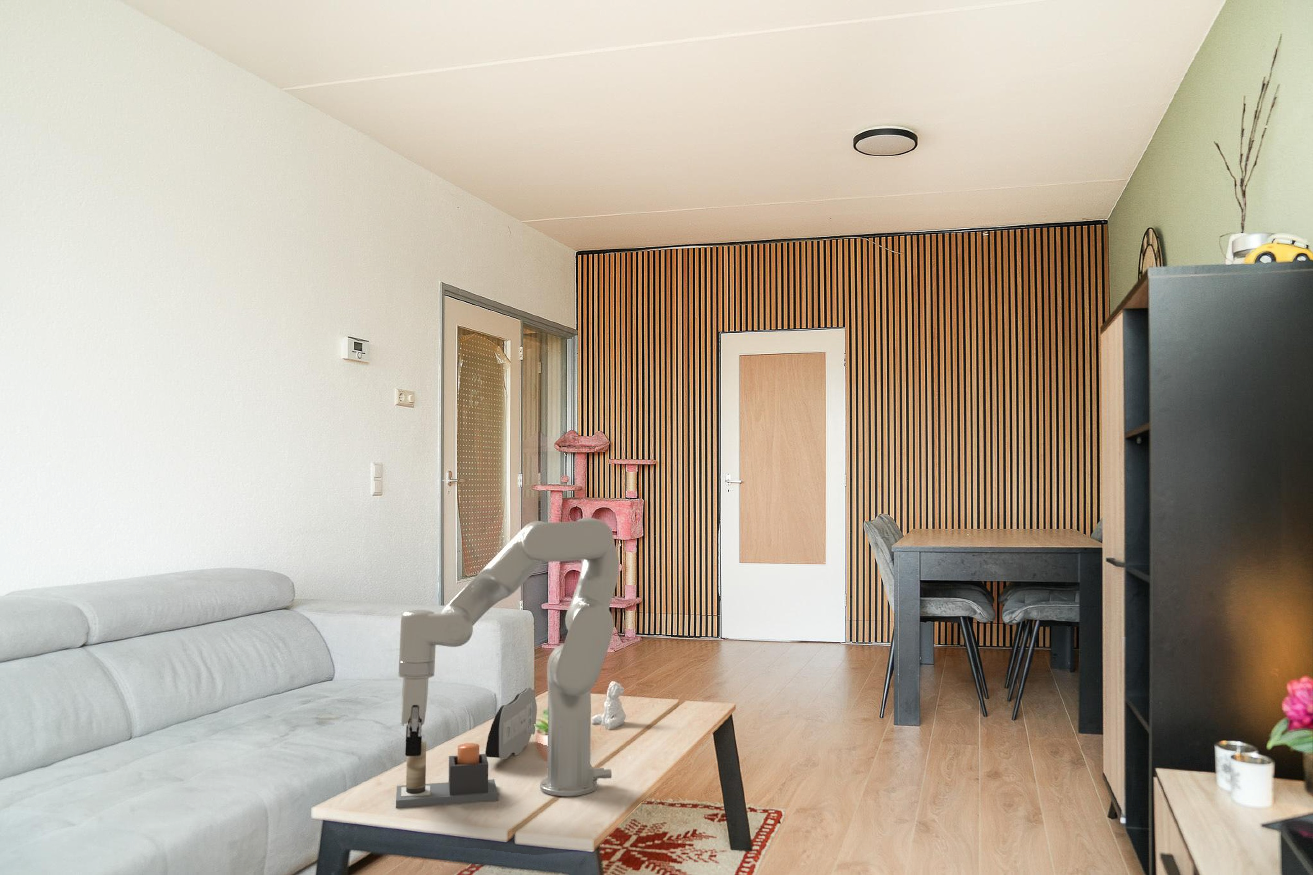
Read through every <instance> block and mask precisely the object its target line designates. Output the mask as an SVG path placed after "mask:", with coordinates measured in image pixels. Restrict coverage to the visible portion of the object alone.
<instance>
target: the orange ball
mask: <svg viewBox="0 0 1313 875" xmlns="http://www.w3.org/2000/svg"><path fill="white" fill-rule="evenodd" d="M479 754H480V744H479V743H473V742H472V743H471V742H470V743H469V742H468V743H467V742H466V743H461V744H458V745H457V756H458V765H461V764H477V763H479Z"/></svg>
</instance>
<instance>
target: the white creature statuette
mask: <svg viewBox="0 0 1313 875" xmlns="http://www.w3.org/2000/svg"><path fill="white" fill-rule="evenodd" d="M606 691H607V692H606V699H605V702H604V703H603V710H604V711H603V713H601V714H600V713H599V714H595V715H594V716H591V724H592V725H600V726H603V727H604V728H605V730H608V731H611V730H614V729H616V728H618V727H620V726H622V725H623V724H624V723H625V720H626V718H627V714H626V713H625V711H624V708H623V706H622V701H621V699H620V698H619V697H620V696H621V695H623V693H624V692H625V688H624V687H623V686H622V684H621V683H618V682H617V681H612V680H611V682H610V683H609V684H608V688H607V690H606Z"/></svg>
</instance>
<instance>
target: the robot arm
mask: <svg viewBox="0 0 1313 875" xmlns="http://www.w3.org/2000/svg"><path fill="white" fill-rule="evenodd" d="M571 561H581V562H580V563H581V564H580V565H581V566H580V573H579V577H578V580H577V583H576V587H575V590H574V593H573V595H572V597H571V600H570V601H571V602H570V604H569V607H568V609H567V610H566V613H565V618H564V620H565V627H566V629H567V634H566V636H565V640H564V643H562V644H559V645H558V646H556V647H555V648H554V649H553V650H552V652H550V655H549V657H548V659H547V663H546V664H547V665H546V680H547V713H548V714H547V769H546V770H547V773H546V775H547V777H545V778H544V779H542V780H541V781H540V783H539V784H540V786H539V788H540V790H541V791H542V792H543V793H545V794H548V795H551V796H557V797H576V796H583V795H586V794H590V793H592V792H594V791H595V790H596V789H597V788H598V780H599V779H604V780H606V779H612V769H611V768H610V769H609V768H608V769H605V768H604V767H595V768H594V767H593V766H592V763H591V740H592V738H591V730H592V726H591V724H592V723H591V717H592V699H591V698H592V694H591V690H593V688H594V686H595V685H596V684H597V681H598V680H599V677H600V675H601V671H602V668H603V665H604V662H605V659H606V656H607V654H608V651H609V647H610V644H611V641H612V637H613V633H614V617H613V615H612V613H611V611H610V606H611V603H612V600H613V597H614V594H615V593H614V592H615V589H616V586H617V582H618V579H619V573H620V572H619V571H620V560H619V554H618V551H617V547H616V545H615V542H614V533H613V530H612V528H611V527H610V526H609V525H608V524H607V523H606V522H605V521H603V520H601V519H598V518H594V517H587V516H586V517H583V518H580V519H577V520H576V521H574V520H573V521H562V522H560V521H559V522H557V521H556V522H545V521H543V520H541V521H540V520H534V521H531V522H529V523H527V524H526V525H524V527H522V529H520V530H519V531H518V533H517V534H515V536H514V537H513V538H512V539H511V540H510V541H509V542H508V543H507V544H506V545H505V546H504V547H503V548H502V549H501V550H500V551H499V552H498V553H497V554H496V556H494V558H493V559H491V561H489V562H488V564H487V565H486V566H484V568H482V570H481V571H479V573H478V574H477V575H476V576H475V577H474V578H473V579H472V580H471V581H470V582H469V583H467V585H465V586H464V588H463V589H461V590H460V592H459V593H457V594H456V596H455V597H454V598H453V599H452V600H451V601H450V602H449V603H448V604H447V605H446V606H445V607H444V608H443V609H442V611H440V613H435V612H434V611H431V610H426V609H412V610H407V611H404V612H403V614H401V617H400V634H399V636H400V637H399V655H398V656H399V661H398V677H400V678H402V679H403V680H402V688H401V710H400V711H401V712H400V713H401V714H400V725H401V726H405V725H406V728H405V751H404V752H405V754H404V755H405V756H406V757H407V756H420V755H421V744H422V741H423V740H422V738H423V736H422V726H423V725H424V724H425V720H426V715H427V705H428V694H429V693H428V692H429V678H432V677H435V669H436V668H435V666H436V646H442V647H449V648H457V647H458V648H459V647H462V646H464V645H465V644H466V643H468V642H469V641H470V639H471V638H472V635H473V632H474V630H473V629H474V628H473V626H475V624H476V623H477V622H478V621H479V620H480V619H481V618H482V617H483V616H484V615H485V614H486V613H487V612H488V611H489V610H490V609H492V607H494V605H496V604H498V603H499V602H501V601H502V600H504V599H506V598H509V597H510V596H512V595H513V594H514V593H515V592H516V591H517V590H519V588H520V587H521V586H522V585H523V584H524V583H525V582H526V581H527V579H528V578H529V577H530V576H532V574H533V573H534V572H535V571H536V570H537V569H538V568H540V566H541V565H542V564H543V563H553V562H555V563H556V562H557V563H558V562H571Z"/></svg>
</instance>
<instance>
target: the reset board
mask: <svg viewBox="0 0 1313 875" xmlns="http://www.w3.org/2000/svg"><path fill="white" fill-rule="evenodd" d="M395 795H396V796H395V808H396V809H397V808H398V809H399V808H414V807H427V806H440V805H452V804H453V805H454V804H455V805H456V804H466V803H467V804H468V803H469V804H470V803H481V802H494V801H495V802H496V801H499V793H498V789H497V785H496V781H495V778H494V779H489V762H488V757H486V754H485V753H481V754H480V753H479V763H477V764H461V765H458V755H449V756H448V782H446V781H445V782H434V783H426V784H425V791H424V792H422V793H417V794H410V793H407V792H406V785H405V784H403V785H396V794H395Z"/></svg>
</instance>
